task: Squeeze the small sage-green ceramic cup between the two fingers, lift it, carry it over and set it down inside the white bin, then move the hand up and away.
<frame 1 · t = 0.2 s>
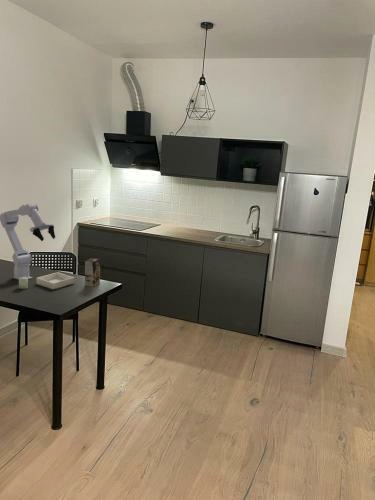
hand: (48, 239, 214), 31 cm above the table, tool tilted 45°, fingers open, 7 cm apart
white bin: (55, 283, 230), on the table
coffee box: (92, 284, 234), on the table
sage cup: (23, 287, 220), on the table
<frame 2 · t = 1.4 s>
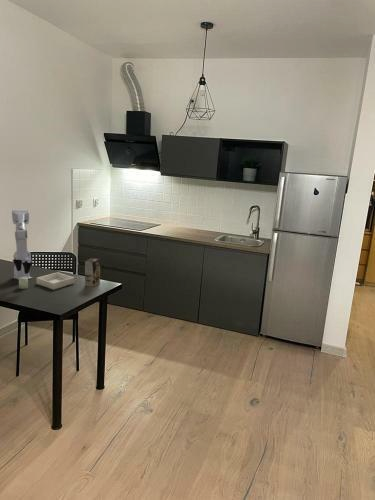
hand: (22, 272, 218), 10 cm above the table, tool pointing down, fingers open, 7 cm apart
nothing on the table moved.
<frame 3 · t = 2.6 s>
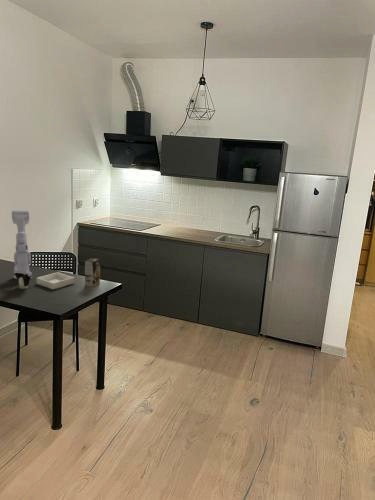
hand: (23, 285, 220), 2 cm above the table, tool pointing down, fingers closed on sage cup, 5 cm apart
sage cup: (23, 287, 220), on the table, touching gripper
everything else where it was.
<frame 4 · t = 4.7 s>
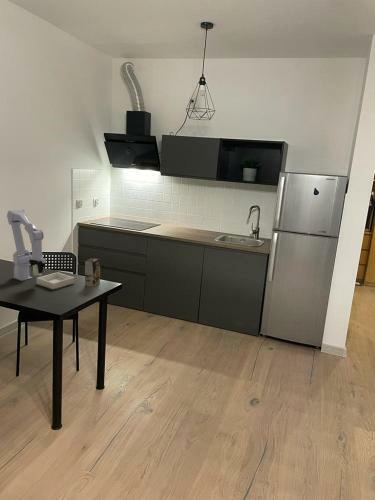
hand: (37, 271, 222), 9 cm above the table, tool pointing down, fingers closed on sage cup, 5 cm apart
sage cup: (37, 274, 223), point 7 cm above the table, touching gripper
everything else where it was.
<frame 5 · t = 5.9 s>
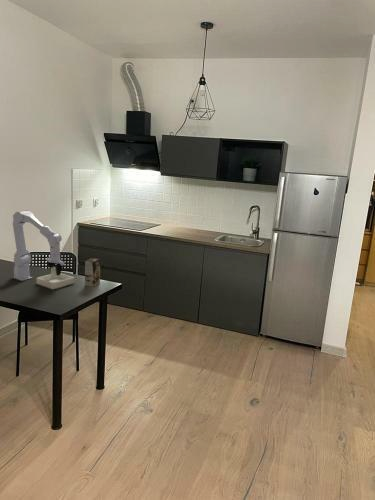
hand: (55, 274, 229), 6 cm above the table, tool pointing down, fingers closed on sage cup, 5 cm apart
sage cup: (55, 276, 229), point 5 cm above the table, touching gripper
everything else where it was.
when the fingers open (4 cm above the table, at t = 6.8 s): sage cup drops 1 cm, resting on white bin.
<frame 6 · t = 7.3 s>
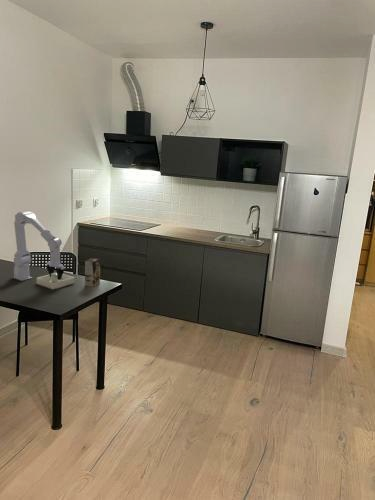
hand: (55, 278, 229), 4 cm above the table, tool pointing down, fingers open, 7 cm apart
sage cup: (55, 282, 230), point 1 cm above the table, touching white bin
everything else where it was.
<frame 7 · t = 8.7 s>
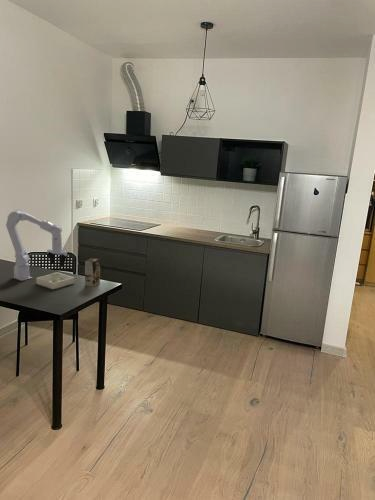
hand: (57, 264, 237), 9 cm above the table, tool pointing down, fingers open, 7 cm apart
nothing on the table moved.
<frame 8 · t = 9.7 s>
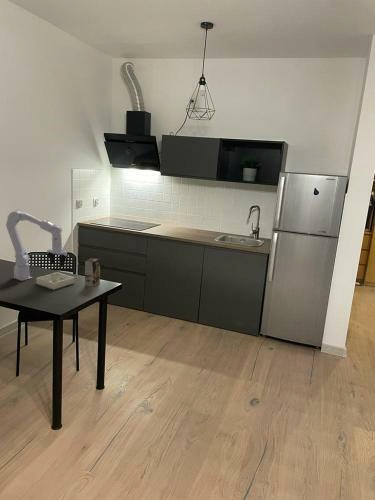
hand: (57, 264, 237), 9 cm above the table, tool pointing down, fingers open, 7 cm apart
nothing on the table moved.
at the end: sage cup inside the target area on the white bin (0.3 cm from its centre), point 0.6 cm above the white bin's base; sage cup tilted 0°; the gripper is holding nothing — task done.
